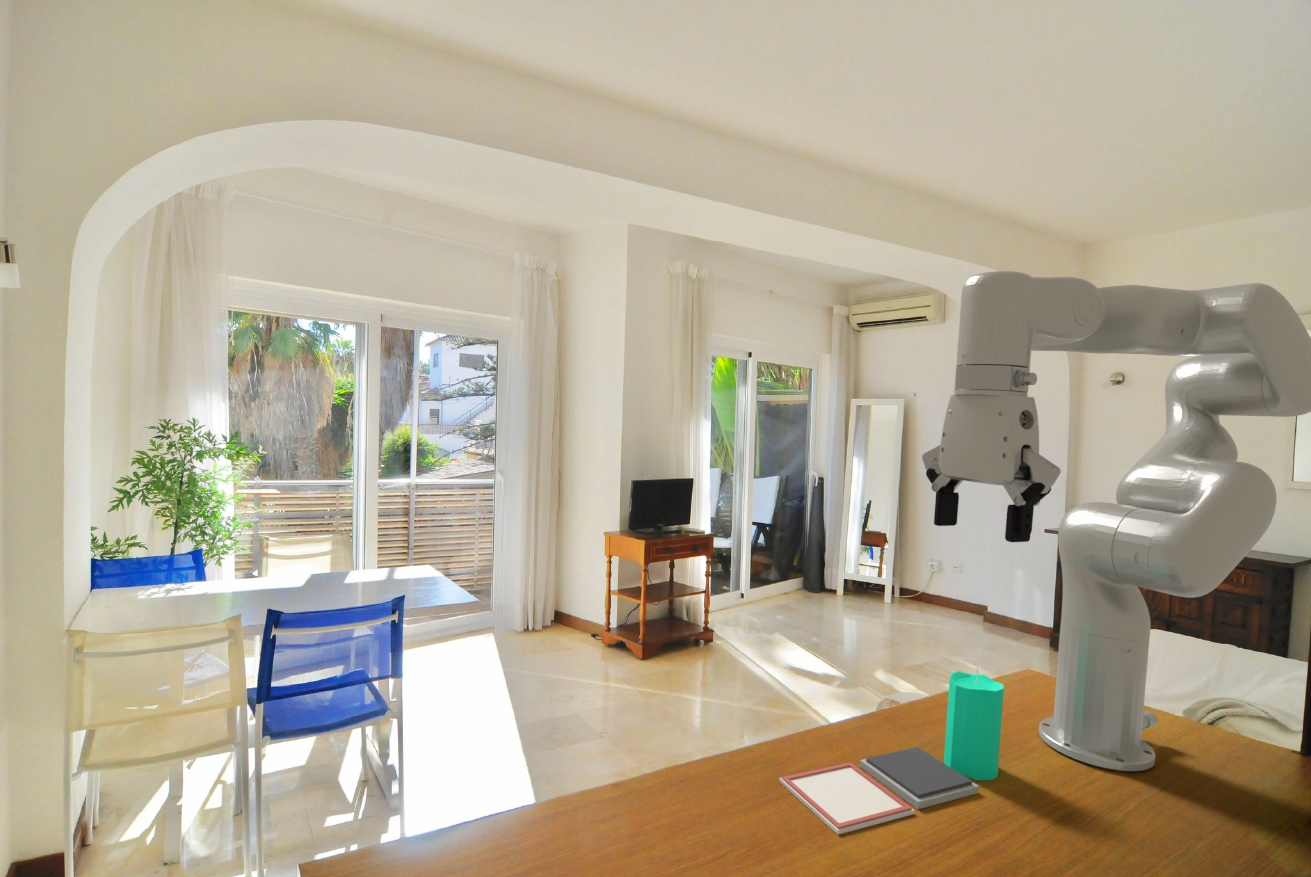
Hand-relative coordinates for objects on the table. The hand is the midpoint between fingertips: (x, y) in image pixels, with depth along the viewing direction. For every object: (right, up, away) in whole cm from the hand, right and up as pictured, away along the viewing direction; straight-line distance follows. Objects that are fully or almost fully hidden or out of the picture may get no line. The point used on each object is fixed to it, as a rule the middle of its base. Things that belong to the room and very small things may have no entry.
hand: (979, 532), depth 78 cm
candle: (0, -29, +3) cm, 29 cm away
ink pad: (-7, -28, 0) cm, 29 cm away
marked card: (-17, -28, -5) cm, 33 cm away
